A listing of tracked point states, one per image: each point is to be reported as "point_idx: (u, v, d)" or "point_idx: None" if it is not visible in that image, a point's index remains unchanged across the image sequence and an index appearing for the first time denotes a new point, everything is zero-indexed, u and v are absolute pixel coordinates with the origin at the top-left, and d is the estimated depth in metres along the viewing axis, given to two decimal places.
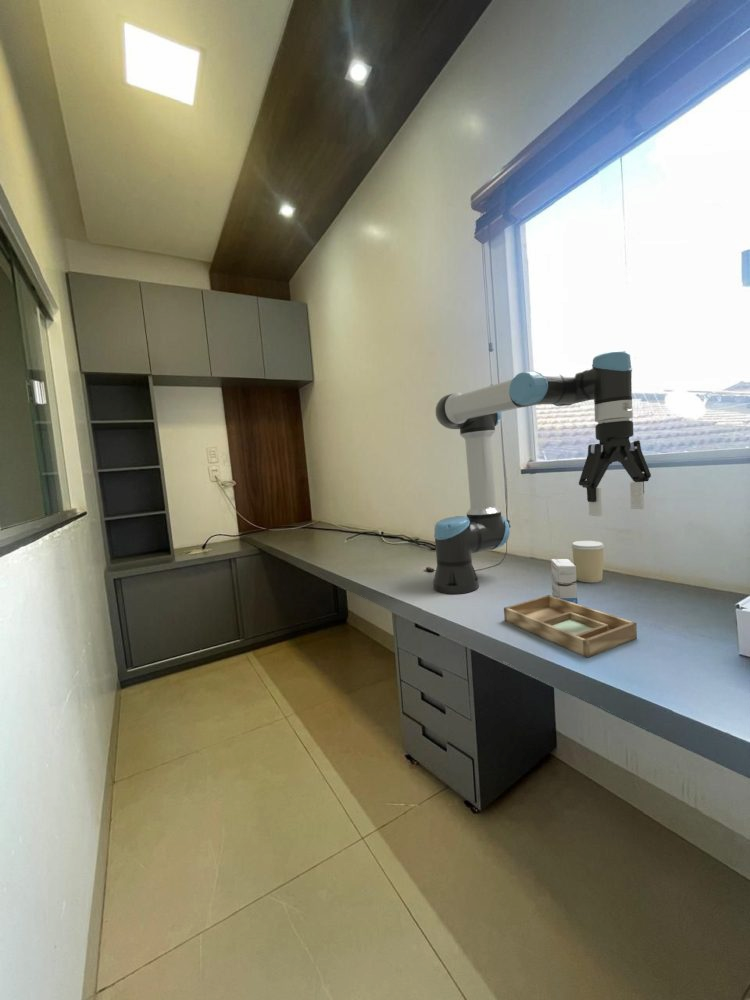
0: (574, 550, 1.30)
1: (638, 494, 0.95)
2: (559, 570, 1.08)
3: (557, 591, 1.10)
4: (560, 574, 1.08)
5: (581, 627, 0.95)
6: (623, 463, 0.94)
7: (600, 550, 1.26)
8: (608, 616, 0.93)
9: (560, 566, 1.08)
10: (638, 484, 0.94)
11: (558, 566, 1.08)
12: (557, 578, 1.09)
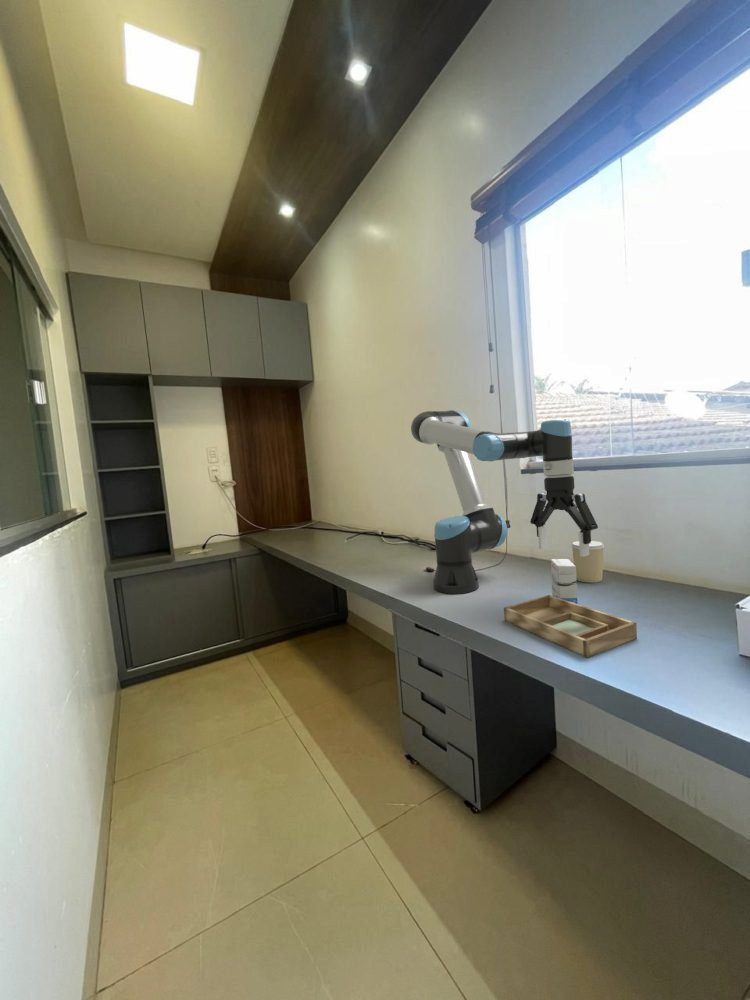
0: (574, 550, 1.30)
1: None
2: (559, 570, 1.08)
3: (557, 591, 1.10)
4: (560, 574, 1.08)
5: (581, 627, 0.95)
6: None
7: (600, 550, 1.26)
8: (608, 616, 0.93)
9: (560, 566, 1.08)
10: None
11: (558, 566, 1.08)
12: (557, 578, 1.09)
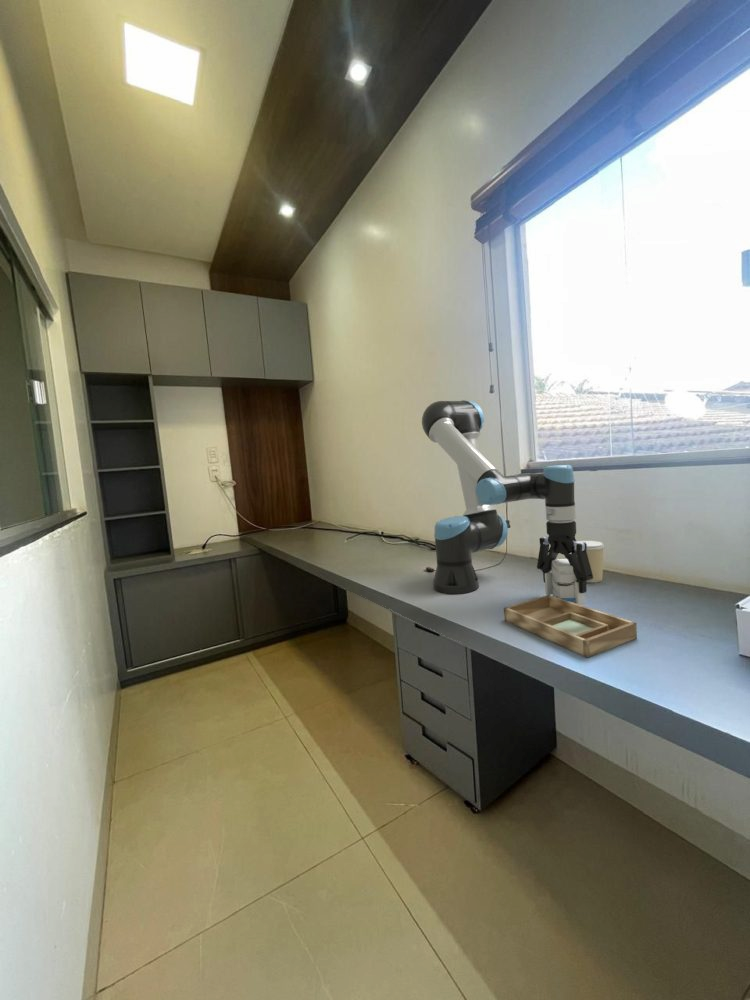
0: None
1: None
2: (559, 570, 1.08)
3: (557, 591, 1.10)
4: (560, 574, 1.08)
5: (581, 627, 0.95)
6: None
7: (600, 550, 1.26)
8: (608, 616, 0.93)
9: (560, 566, 1.08)
10: None
11: (558, 566, 1.08)
12: (557, 578, 1.09)
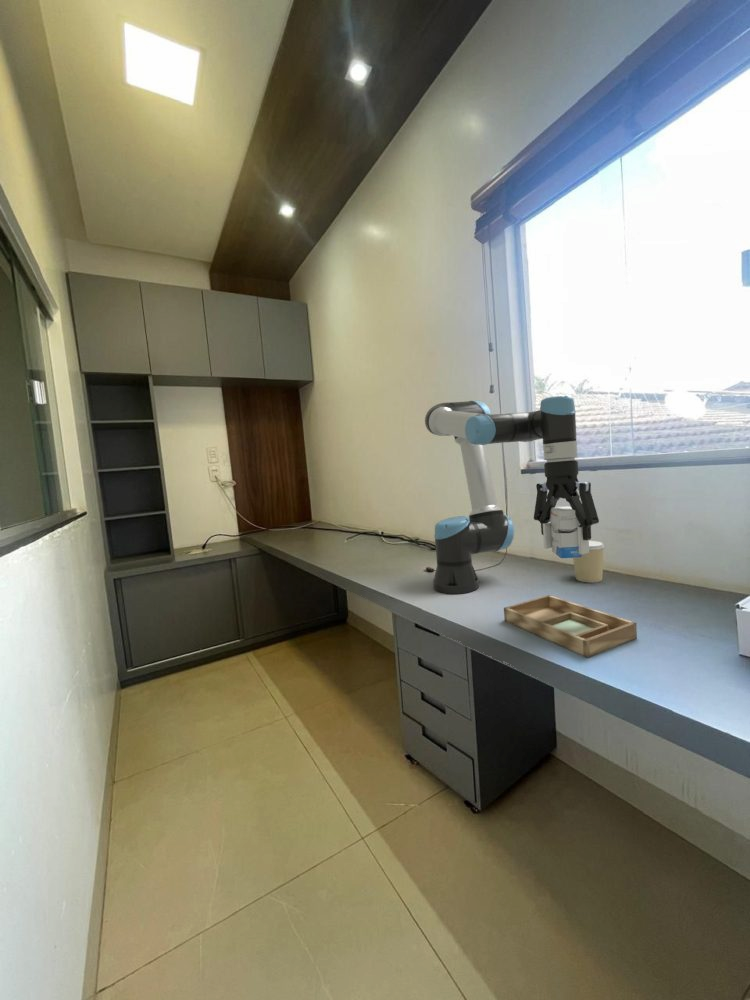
0: None
1: None
2: (560, 515, 0.94)
3: (558, 540, 0.96)
4: (561, 519, 0.94)
5: (581, 627, 0.95)
6: None
7: (600, 550, 1.26)
8: (608, 616, 0.93)
9: (561, 510, 0.94)
10: None
11: (559, 510, 0.95)
12: (558, 525, 0.95)
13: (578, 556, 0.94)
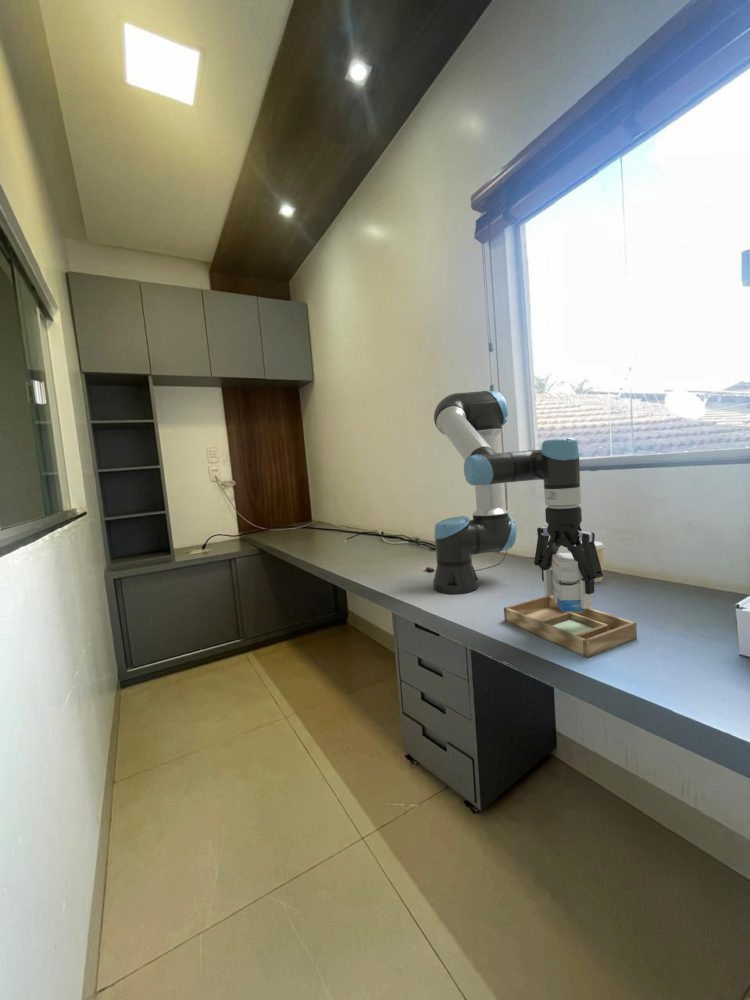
0: None
1: None
2: (561, 566, 0.88)
3: (559, 591, 0.90)
4: (562, 571, 0.88)
5: (581, 627, 0.95)
6: None
7: (600, 550, 1.26)
8: (608, 616, 0.93)
9: (562, 561, 0.88)
10: None
11: (560, 561, 0.89)
12: (559, 576, 0.89)
13: (580, 610, 0.88)
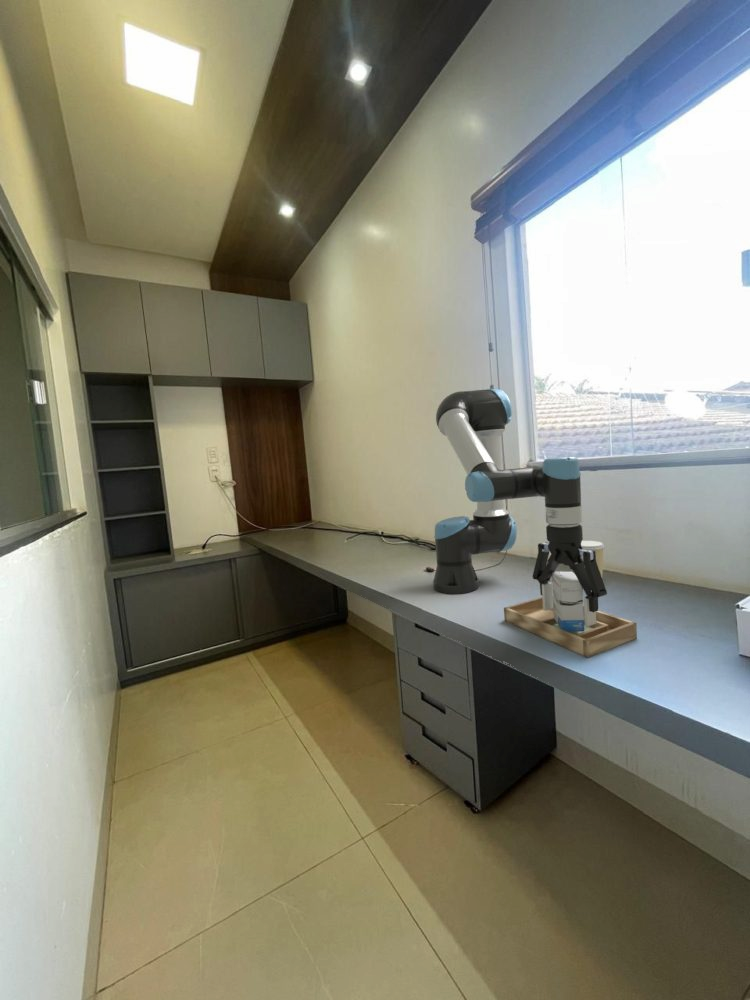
0: None
1: None
2: (562, 586, 0.89)
3: (559, 611, 0.91)
4: (563, 591, 0.89)
5: None
6: None
7: (600, 550, 1.26)
8: (608, 616, 0.93)
9: (563, 581, 0.89)
10: None
11: (561, 581, 0.89)
12: (559, 596, 0.90)
13: (581, 630, 0.89)
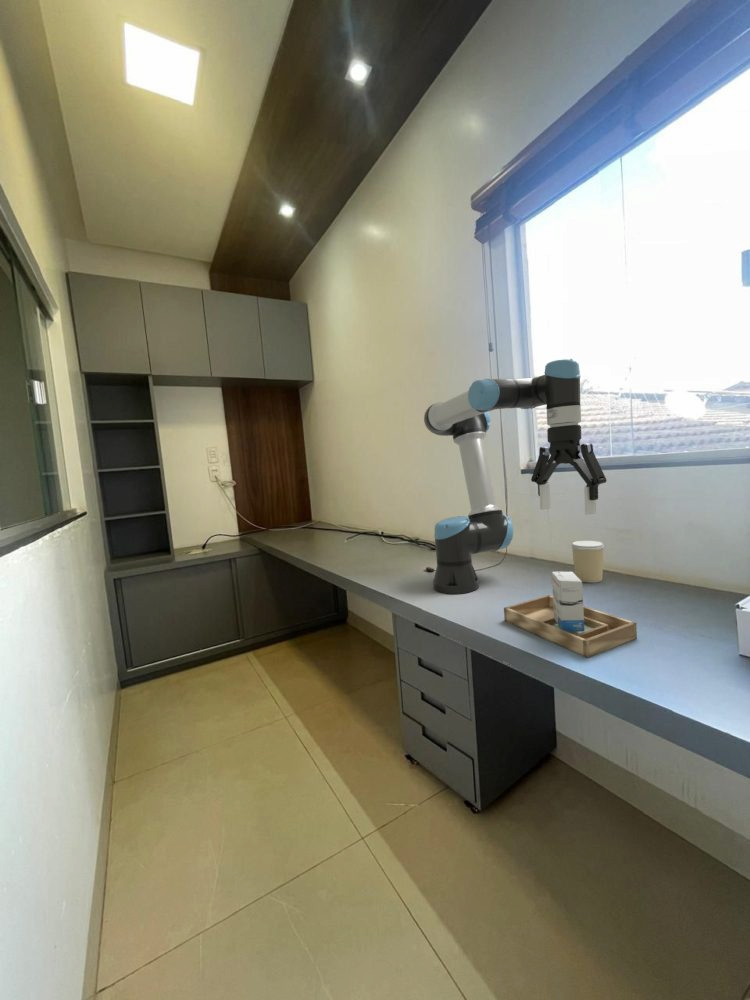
0: (574, 550, 1.30)
1: None
2: (562, 586, 0.89)
3: (559, 611, 0.91)
4: (563, 591, 0.89)
5: None
6: None
7: (600, 550, 1.26)
8: (608, 616, 0.93)
9: (563, 581, 0.89)
10: None
11: (561, 581, 0.89)
12: (559, 596, 0.90)
13: (581, 630, 0.89)
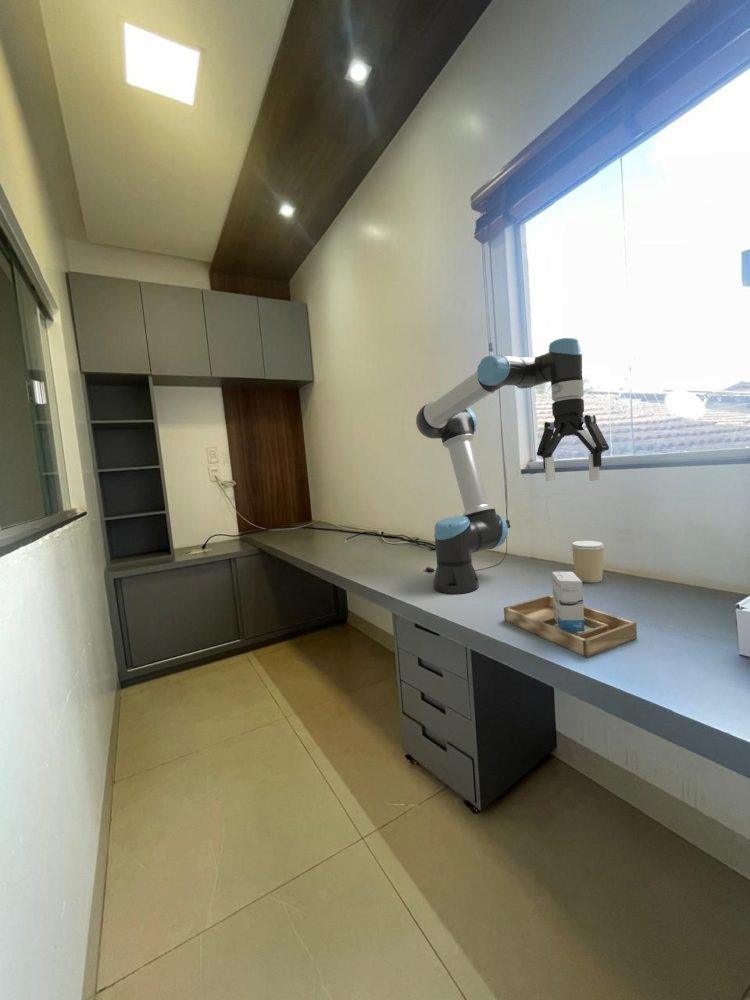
0: (574, 550, 1.30)
1: None
2: (562, 586, 0.89)
3: (559, 611, 0.91)
4: (563, 591, 0.89)
5: None
6: None
7: (600, 550, 1.26)
8: (608, 616, 0.93)
9: (563, 581, 0.89)
10: None
11: (561, 581, 0.89)
12: (559, 596, 0.90)
13: (581, 630, 0.89)
